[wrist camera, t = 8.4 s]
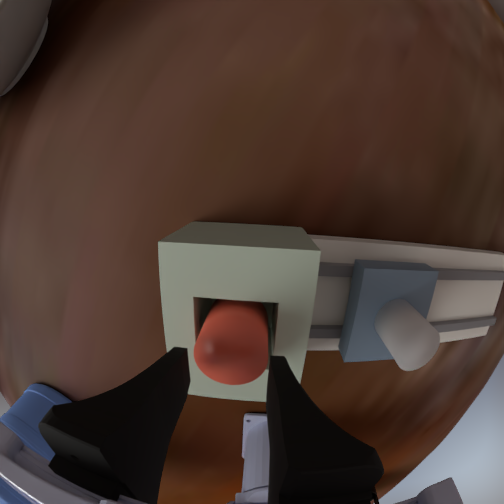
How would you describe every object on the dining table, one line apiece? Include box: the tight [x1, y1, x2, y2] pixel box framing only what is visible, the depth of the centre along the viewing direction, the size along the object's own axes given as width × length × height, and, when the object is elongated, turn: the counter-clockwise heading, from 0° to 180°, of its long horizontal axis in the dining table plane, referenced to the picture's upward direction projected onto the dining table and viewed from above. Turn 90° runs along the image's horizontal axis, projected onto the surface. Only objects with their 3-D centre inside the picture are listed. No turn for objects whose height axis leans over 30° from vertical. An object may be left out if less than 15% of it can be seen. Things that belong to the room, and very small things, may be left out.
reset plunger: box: [194, 299, 268, 385], centre depth 14 cm, size 4×4×4 cm
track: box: [158, 222, 504, 402], centre depth 17 cm, size 10×30×7 cm, turn 87°
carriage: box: [338, 259, 440, 371], centre depth 15 cm, size 7×6×6 cm
